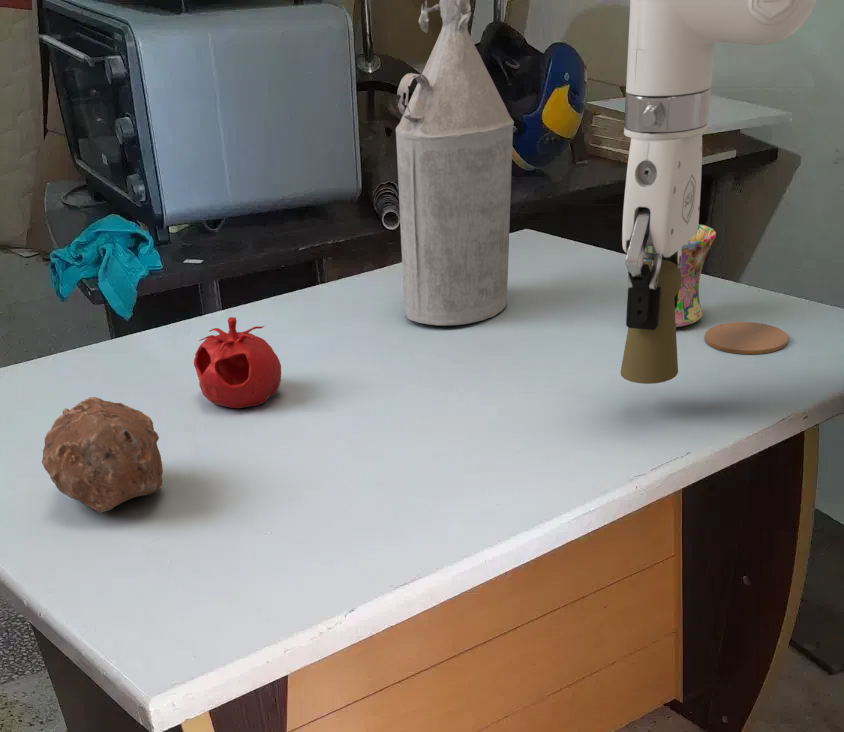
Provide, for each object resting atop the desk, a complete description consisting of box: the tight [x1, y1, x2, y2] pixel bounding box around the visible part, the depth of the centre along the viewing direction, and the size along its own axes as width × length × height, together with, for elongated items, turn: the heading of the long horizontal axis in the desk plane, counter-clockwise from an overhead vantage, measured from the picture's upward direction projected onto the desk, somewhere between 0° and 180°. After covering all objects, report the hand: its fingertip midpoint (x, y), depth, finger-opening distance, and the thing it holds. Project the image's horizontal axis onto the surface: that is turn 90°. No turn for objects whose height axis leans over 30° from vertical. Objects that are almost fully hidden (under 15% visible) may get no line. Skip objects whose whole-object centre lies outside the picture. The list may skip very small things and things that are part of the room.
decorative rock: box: [41, 396, 164, 514], centre depth 99 cm, size 13×11×10 cm
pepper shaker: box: [620, 260, 682, 385], centre depth 104 cm, size 6×6×11 cm
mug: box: [644, 223, 717, 328], centre depth 128 cm, size 12×9×11 cm
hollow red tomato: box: [193, 316, 282, 409], centre depth 117 cm, size 10×10×9 cm
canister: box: [395, 0, 515, 327], centre depth 126 cm, size 13×17×40 cm
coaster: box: [704, 321, 789, 355], centre depth 126 cm, size 10×10×1 cm
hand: (651, 316), depth 104 cm, fingers closed on pepper shaker, 5 cm apart
